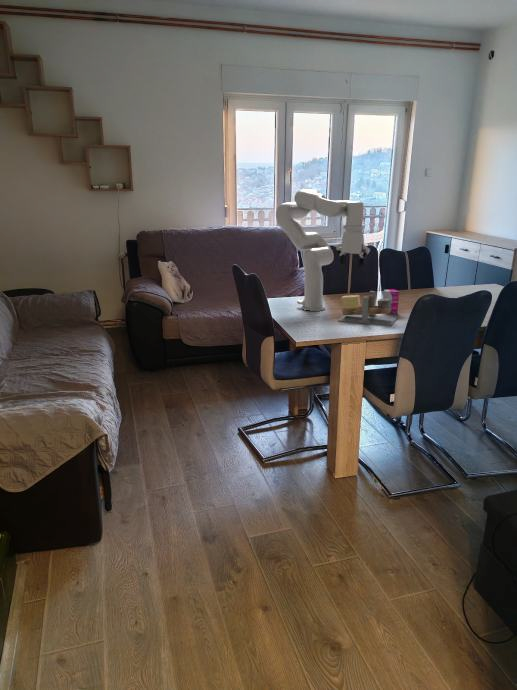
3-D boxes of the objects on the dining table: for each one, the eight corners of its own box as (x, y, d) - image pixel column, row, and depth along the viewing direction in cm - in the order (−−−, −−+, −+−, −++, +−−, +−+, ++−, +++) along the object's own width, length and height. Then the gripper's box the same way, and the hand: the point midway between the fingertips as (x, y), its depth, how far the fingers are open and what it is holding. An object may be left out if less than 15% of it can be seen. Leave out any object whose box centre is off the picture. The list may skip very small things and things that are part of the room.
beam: (342, 315, 248) (341, 299, 246) (346, 312, 254) (345, 297, 252) (388, 313, 239) (387, 297, 237) (391, 310, 244) (390, 294, 242)
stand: (337, 321, 245) (338, 295, 241) (347, 313, 260) (348, 289, 256) (390, 326, 235) (392, 299, 231) (397, 317, 250) (399, 292, 246)
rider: (342, 311, 249) (341, 297, 247) (344, 309, 253) (343, 295, 251) (358, 311, 246) (357, 296, 244) (360, 309, 249) (359, 295, 247)
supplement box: (387, 314, 256) (388, 291, 253) (381, 311, 262) (383, 289, 259) (398, 313, 258) (399, 291, 254) (392, 311, 263) (393, 288, 260)
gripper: (333, 228, 243) (331, 264, 248) (367, 230, 233) (365, 268, 239) (341, 227, 249) (339, 262, 254) (374, 229, 239) (371, 265, 244)
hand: (351, 265), depth 246 cm, fingers open, 9 cm apart
